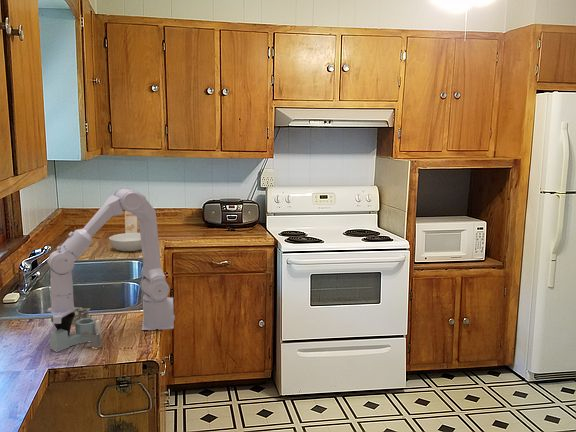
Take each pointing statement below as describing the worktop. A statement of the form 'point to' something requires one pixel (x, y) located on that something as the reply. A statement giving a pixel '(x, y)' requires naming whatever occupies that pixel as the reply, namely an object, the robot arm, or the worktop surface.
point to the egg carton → (80, 314)
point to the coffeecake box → (131, 223)
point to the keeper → (92, 338)
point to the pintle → (97, 326)
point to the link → (62, 340)
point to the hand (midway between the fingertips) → (64, 339)
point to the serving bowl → (126, 241)
